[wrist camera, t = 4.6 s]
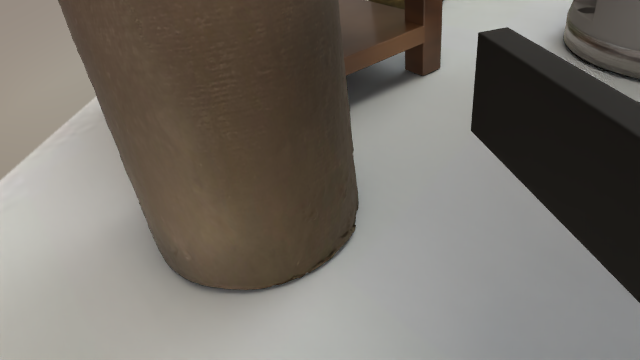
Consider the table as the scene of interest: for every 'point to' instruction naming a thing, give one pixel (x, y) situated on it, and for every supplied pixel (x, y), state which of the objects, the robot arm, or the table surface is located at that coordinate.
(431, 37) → the shelf rack
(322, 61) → the pillar candle
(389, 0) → the sneaker
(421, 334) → the table surface
